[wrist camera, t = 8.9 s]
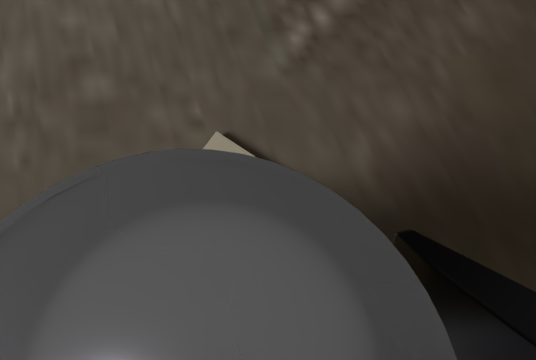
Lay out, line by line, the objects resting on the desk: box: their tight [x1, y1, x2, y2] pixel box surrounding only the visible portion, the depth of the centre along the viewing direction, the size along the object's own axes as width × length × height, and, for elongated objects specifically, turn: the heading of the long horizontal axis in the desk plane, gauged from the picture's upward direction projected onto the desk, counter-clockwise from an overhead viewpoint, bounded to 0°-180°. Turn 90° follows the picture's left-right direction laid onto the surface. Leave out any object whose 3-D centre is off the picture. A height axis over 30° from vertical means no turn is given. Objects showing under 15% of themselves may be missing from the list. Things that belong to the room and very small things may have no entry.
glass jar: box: [0, 149, 457, 360], centre depth 9 cm, size 5×5×13 cm
